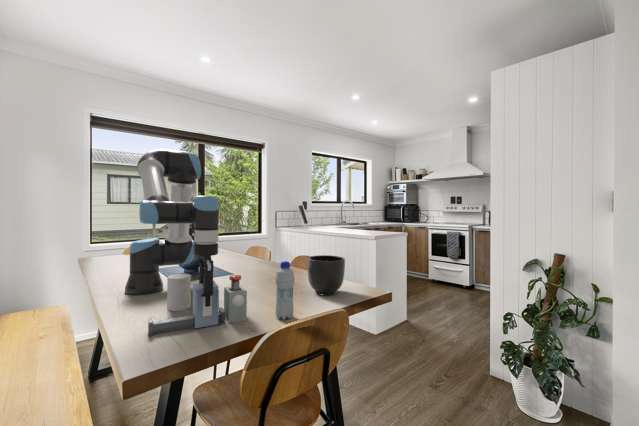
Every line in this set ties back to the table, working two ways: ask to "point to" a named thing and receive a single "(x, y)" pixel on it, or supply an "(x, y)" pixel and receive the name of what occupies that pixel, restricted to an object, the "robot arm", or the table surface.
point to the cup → (178, 292)
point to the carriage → (198, 306)
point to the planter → (326, 273)
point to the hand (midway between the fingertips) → (205, 312)
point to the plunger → (235, 282)
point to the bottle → (284, 291)
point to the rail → (177, 323)
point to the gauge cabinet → (235, 304)
